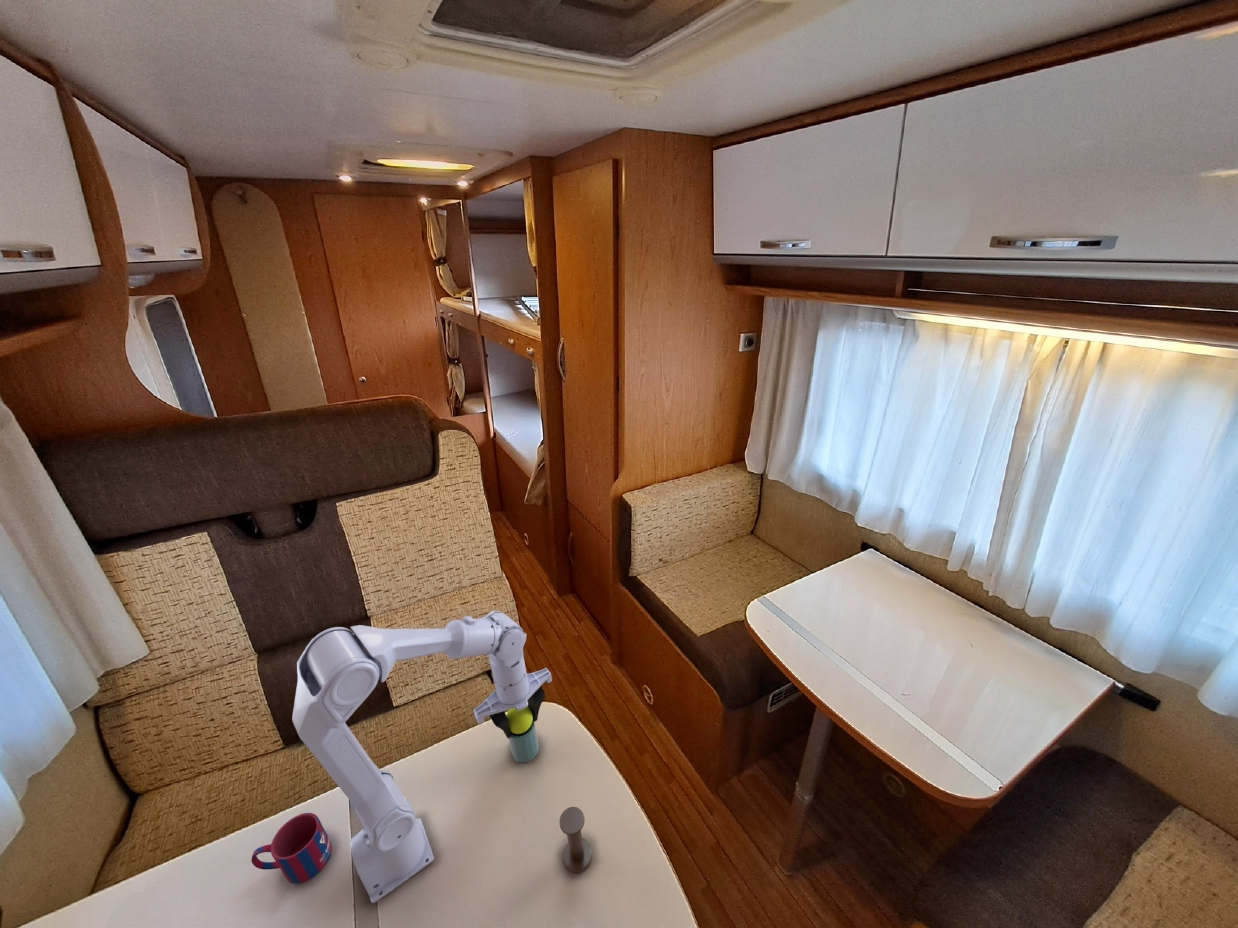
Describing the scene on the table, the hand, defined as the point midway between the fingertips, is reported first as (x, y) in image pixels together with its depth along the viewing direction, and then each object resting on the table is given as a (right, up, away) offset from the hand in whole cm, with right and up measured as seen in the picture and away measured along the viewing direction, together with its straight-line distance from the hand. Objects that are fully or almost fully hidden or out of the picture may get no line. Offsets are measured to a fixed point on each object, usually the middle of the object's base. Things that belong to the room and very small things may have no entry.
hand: (520, 725), depth 91 cm
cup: (-34, -16, -12) cm, 39 cm away
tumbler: (0, -6, +3) cm, 7 cm away
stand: (+12, -13, -14) cm, 23 cm away
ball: (0, -1, 0) cm, 1 cm away
